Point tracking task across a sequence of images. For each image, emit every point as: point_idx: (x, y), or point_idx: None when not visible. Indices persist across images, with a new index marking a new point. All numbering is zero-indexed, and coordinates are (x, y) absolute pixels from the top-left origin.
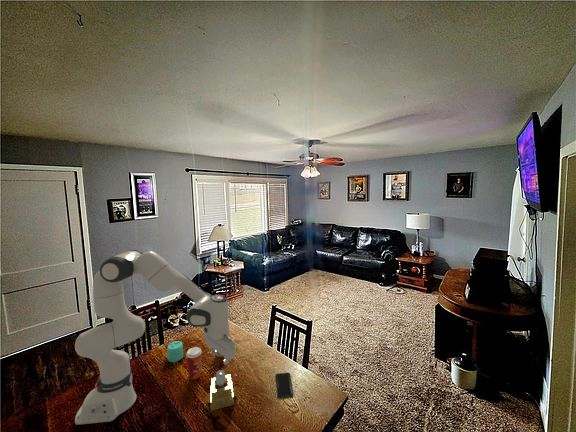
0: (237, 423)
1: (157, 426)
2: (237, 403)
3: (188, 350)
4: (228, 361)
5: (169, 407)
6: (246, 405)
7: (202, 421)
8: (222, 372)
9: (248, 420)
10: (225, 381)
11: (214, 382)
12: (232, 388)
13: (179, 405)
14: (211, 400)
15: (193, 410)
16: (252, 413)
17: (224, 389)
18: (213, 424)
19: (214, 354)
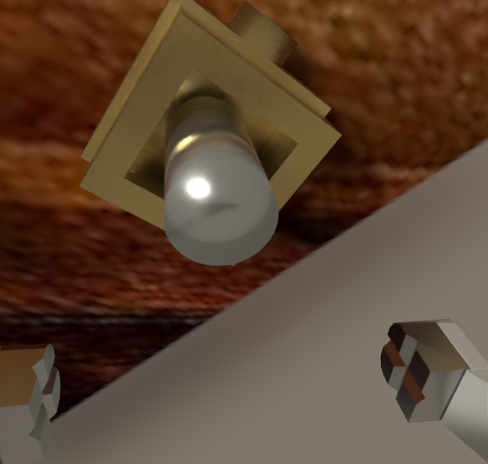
0: (419, 160)
1: (99, 387)
2: (327, 64)
3: None
4: (466, 339)
5: (18, 330)
6: (396, 33)
7: (243, 265)
8: (227, 196)
9: (469, 107)
10: (253, 147)
11: (152, 195)
12: (260, 53)
13: (43, 296)
14: None
15: (140, 264)
16: (469, 55)
17: (295, 185)
18: (307, 240)
19: (53, 389)
